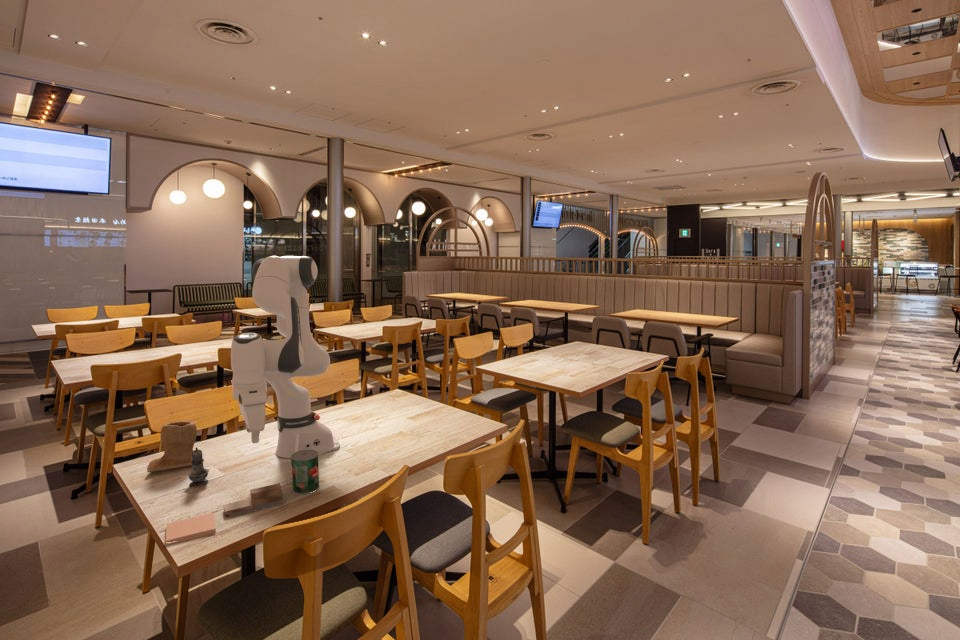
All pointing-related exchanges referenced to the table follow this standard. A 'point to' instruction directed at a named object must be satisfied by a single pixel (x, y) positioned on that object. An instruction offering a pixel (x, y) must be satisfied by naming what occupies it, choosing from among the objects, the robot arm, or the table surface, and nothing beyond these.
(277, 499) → the wooden l-shaped bracket
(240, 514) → the grey flat slab
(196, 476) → the dark grey stupa figurine
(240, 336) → the robot arm
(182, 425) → the tan suede boot
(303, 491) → the canned tomato
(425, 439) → the table surface
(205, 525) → the tile
